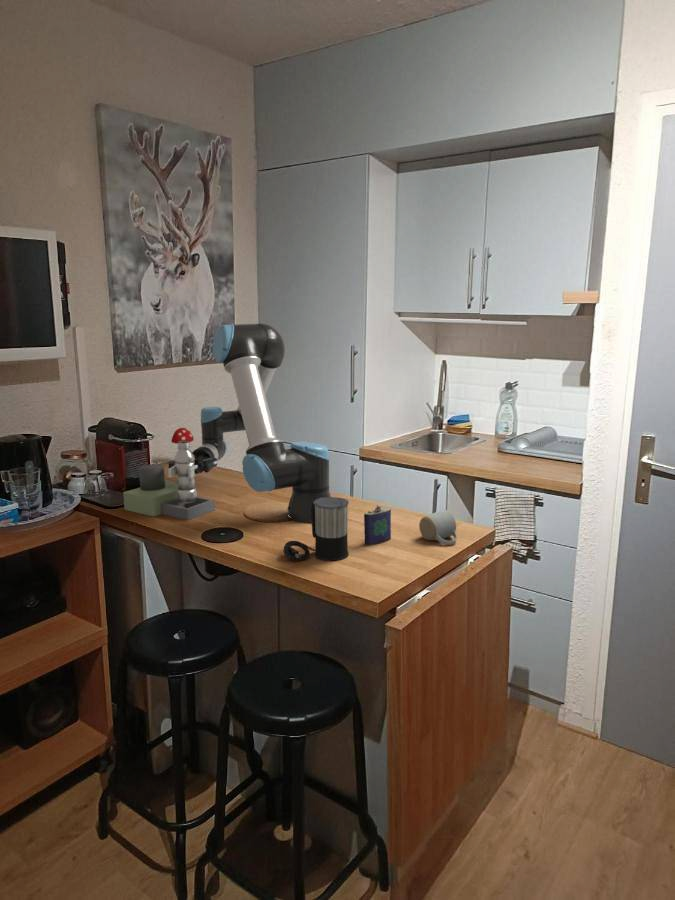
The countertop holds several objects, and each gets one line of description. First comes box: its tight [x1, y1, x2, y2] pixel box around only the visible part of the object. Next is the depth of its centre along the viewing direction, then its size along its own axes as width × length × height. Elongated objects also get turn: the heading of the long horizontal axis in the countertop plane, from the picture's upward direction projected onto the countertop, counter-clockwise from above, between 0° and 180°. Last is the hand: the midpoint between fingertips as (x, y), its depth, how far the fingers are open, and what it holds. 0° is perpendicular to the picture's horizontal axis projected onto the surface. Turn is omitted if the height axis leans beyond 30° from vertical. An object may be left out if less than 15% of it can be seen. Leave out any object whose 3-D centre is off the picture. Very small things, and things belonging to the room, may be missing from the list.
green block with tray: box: [122, 463, 216, 521], centre depth 220 cm, size 26×18×13 cm
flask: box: [363, 504, 392, 546], centre depth 188 cm, size 9×3×11 cm, turn 127°
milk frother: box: [282, 496, 350, 562], centre depth 177 cm, size 14×16×15 cm
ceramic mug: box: [418, 509, 458, 546], centre depth 189 cm, size 11×8×8 cm
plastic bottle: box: [173, 441, 198, 504], centre depth 215 cm, size 6×7×20 cm
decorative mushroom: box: [171, 427, 195, 450], centre depth 285 cm, size 10×9×15 cm
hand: (179, 473), depth 210 cm, fingers closed on plastic bottle, 6 cm apart
